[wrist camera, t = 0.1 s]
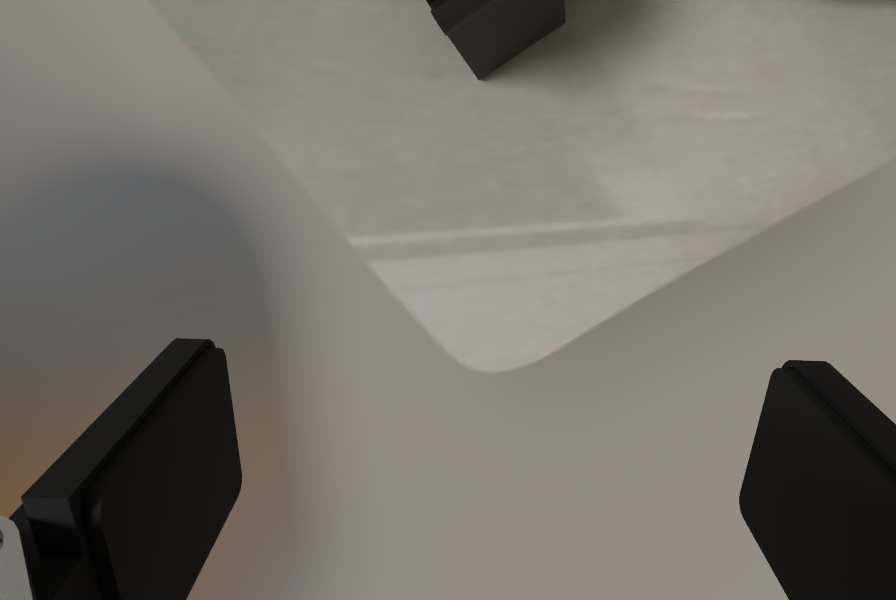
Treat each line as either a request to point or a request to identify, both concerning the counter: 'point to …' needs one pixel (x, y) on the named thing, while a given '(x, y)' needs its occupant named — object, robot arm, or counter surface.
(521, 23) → the phone stand
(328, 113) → the counter surface
